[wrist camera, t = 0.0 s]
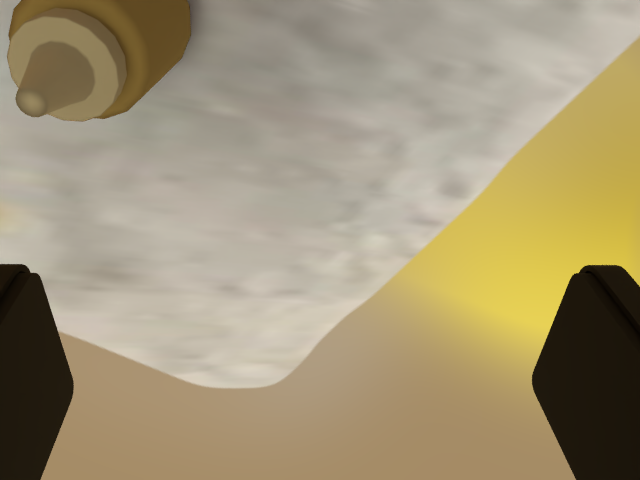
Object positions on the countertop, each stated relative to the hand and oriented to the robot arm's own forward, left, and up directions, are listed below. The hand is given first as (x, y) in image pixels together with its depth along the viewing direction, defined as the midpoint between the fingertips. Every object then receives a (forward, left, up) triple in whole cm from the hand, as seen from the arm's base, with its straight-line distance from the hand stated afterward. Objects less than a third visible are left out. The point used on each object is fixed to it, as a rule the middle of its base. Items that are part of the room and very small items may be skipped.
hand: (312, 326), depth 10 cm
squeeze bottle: (+1, -10, -31) cm, 33 cm away
